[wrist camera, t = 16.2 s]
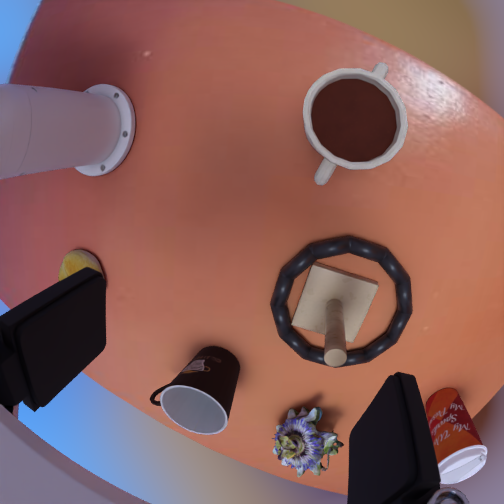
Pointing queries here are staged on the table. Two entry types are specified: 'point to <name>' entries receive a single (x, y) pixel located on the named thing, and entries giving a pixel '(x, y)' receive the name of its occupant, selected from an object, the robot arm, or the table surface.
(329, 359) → the post
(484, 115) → the table surface
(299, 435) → the passion flower
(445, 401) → the paper cup
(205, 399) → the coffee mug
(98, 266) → the bread roll
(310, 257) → the ring
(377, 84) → the white handled cup
